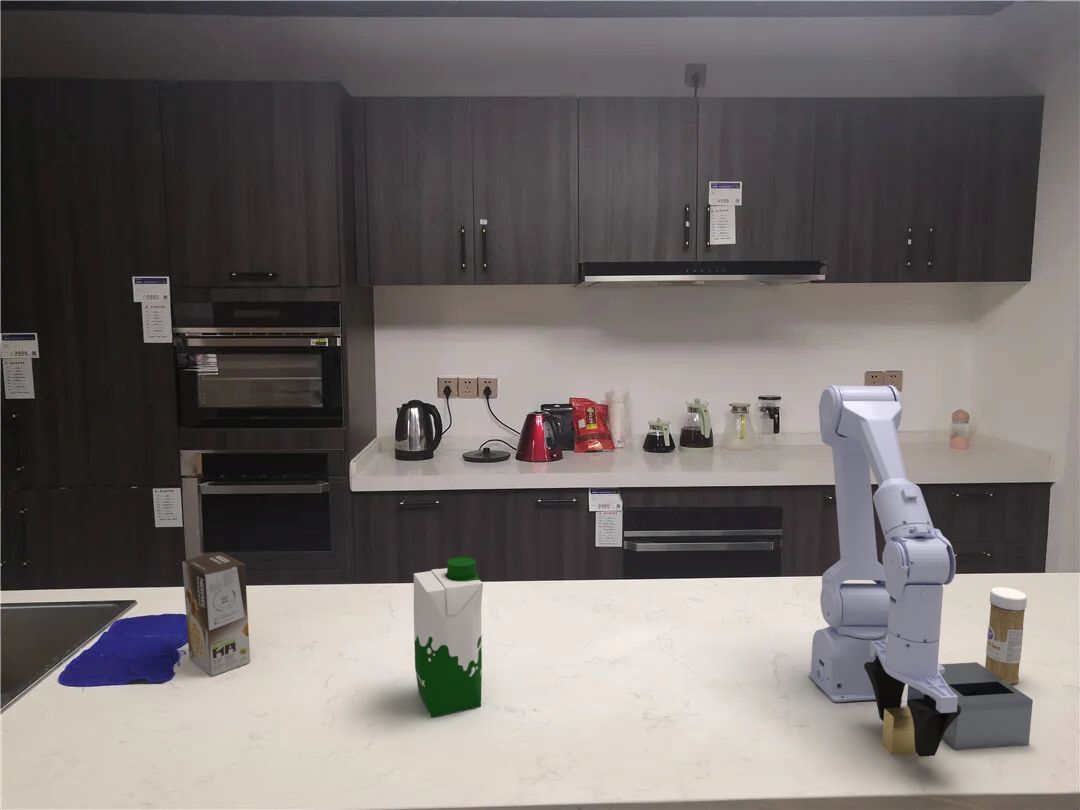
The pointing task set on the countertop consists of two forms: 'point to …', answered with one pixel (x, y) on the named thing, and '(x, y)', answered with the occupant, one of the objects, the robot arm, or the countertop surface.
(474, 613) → the milk carton
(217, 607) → the coffee box
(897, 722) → the block
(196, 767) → the countertop surface
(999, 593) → the sprinkles bottle
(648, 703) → the countertop surface
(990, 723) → the box
